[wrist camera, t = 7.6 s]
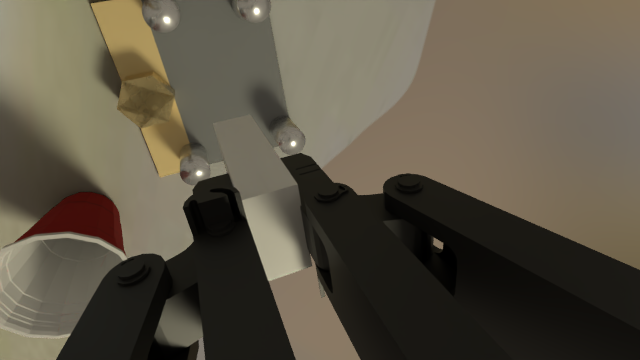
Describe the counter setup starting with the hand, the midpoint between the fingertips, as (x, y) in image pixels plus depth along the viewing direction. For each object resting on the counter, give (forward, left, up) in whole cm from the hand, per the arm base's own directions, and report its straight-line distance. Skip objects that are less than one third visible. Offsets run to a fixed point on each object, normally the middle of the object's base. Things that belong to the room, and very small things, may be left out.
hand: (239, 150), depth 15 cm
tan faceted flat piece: (-6, -2, -25) cm, 26 cm away
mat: (0, -2, -25) cm, 25 cm away
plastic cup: (-16, -13, -25) cm, 33 cm away
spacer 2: (-4, -9, -25) cm, 27 cm away
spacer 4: (+6, -9, -25) cm, 27 cm away
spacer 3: (+5, +4, -25) cm, 26 cm away
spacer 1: (-2, +5, -25) cm, 26 cm away
